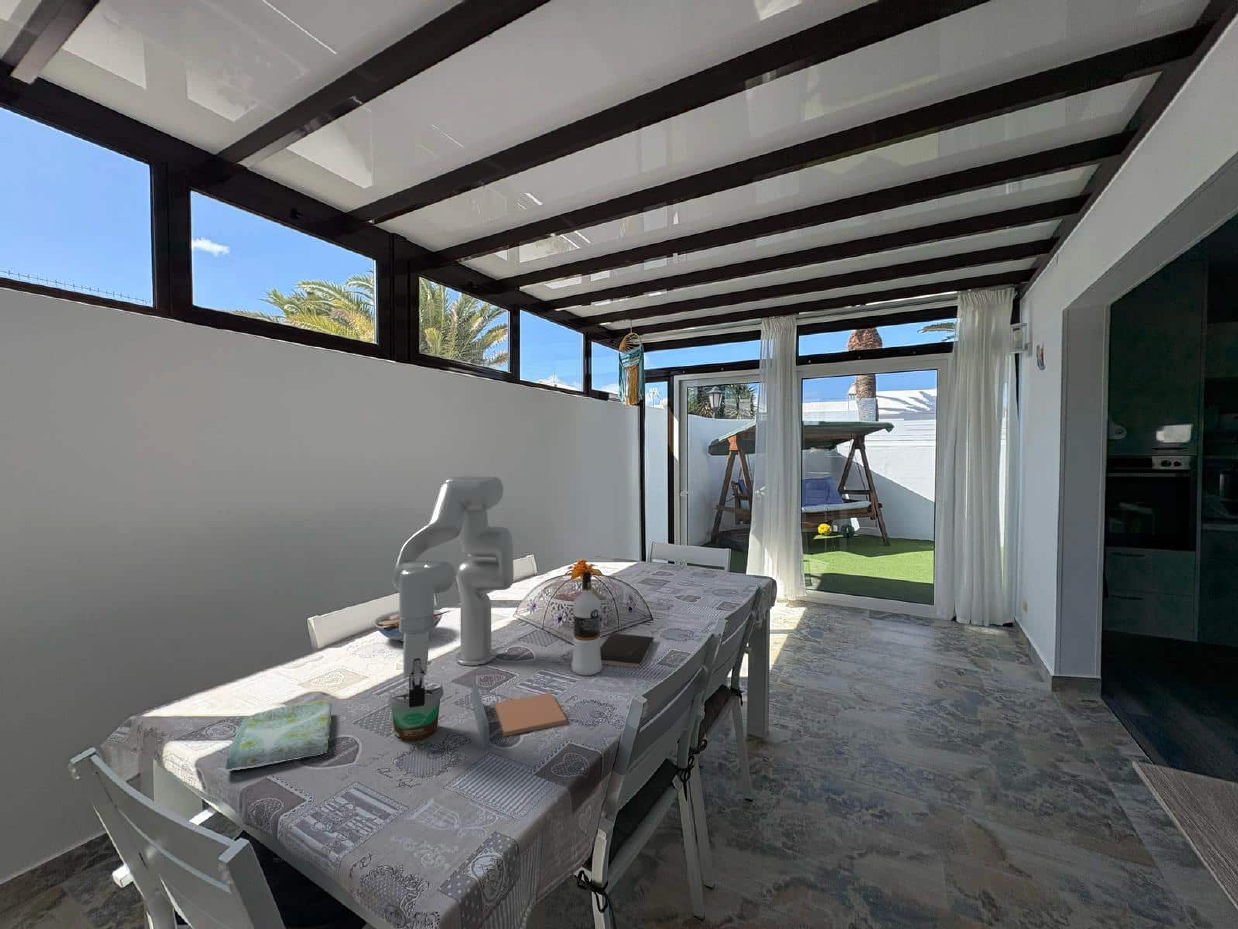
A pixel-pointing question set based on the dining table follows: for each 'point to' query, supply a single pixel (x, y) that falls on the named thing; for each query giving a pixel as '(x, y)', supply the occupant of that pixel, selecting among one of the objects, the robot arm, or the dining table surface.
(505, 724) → the mat
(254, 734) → the towel
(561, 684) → the dining table surface
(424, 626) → the robot arm
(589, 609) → the vodka
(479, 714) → the acrylic wall
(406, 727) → the food container
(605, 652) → the hardcover book
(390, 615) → the ramen bowl
